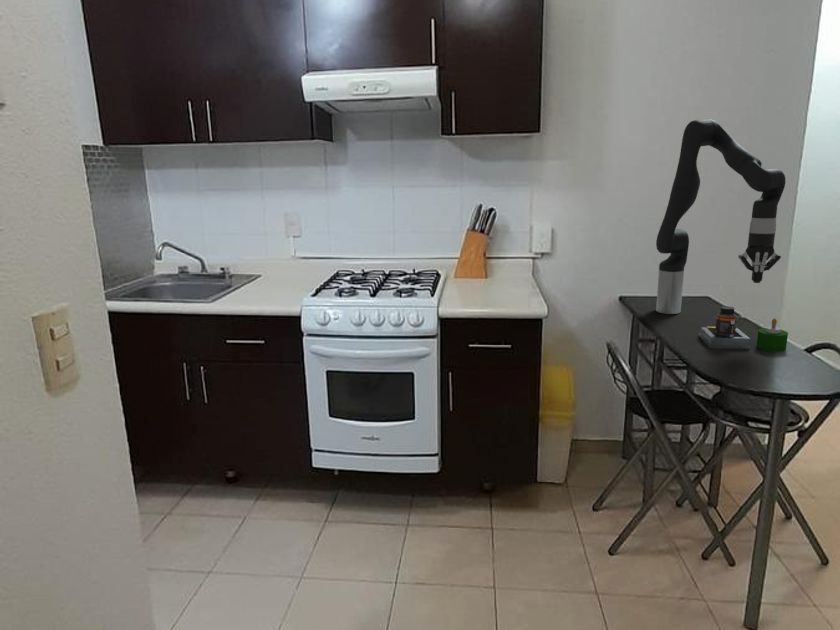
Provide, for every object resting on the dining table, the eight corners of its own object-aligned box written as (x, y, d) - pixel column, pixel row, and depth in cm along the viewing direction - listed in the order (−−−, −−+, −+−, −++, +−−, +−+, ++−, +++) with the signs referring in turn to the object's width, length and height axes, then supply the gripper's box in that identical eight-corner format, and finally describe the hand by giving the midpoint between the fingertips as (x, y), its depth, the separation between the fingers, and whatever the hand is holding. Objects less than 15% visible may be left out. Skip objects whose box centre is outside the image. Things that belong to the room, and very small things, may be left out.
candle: (759, 351, 188) (763, 321, 185) (754, 343, 196) (757, 314, 193) (788, 352, 185) (792, 322, 183) (782, 345, 193) (786, 315, 190)
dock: (698, 335, 205) (699, 326, 204) (735, 336, 203) (736, 326, 202) (710, 348, 192) (711, 338, 191) (749, 349, 190) (751, 338, 189)
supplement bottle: (736, 343, 193) (740, 309, 190) (717, 342, 194) (720, 309, 191) (731, 337, 199) (734, 305, 196) (712, 337, 200) (715, 305, 197)
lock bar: (706, 334, 206) (707, 323, 205) (730, 335, 205) (731, 324, 204) (707, 335, 205) (708, 324, 204) (732, 336, 203) (733, 325, 202)
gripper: (779, 229, 196) (773, 280, 201) (736, 230, 199) (731, 280, 203) (788, 232, 189) (782, 284, 194) (744, 232, 192) (738, 284, 196)
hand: (756, 282), depth 198 cm, fingers closed
